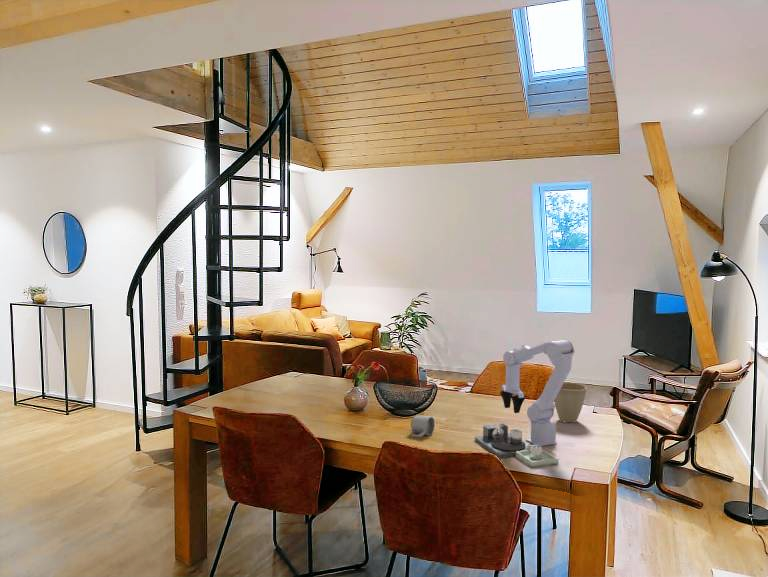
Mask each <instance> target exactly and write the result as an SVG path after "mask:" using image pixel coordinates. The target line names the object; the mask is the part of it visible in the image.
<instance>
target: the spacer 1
mask: <svg viewBox="0 0 768 577" xmlns="http://www.w3.org/2000/svg"><path fill="white" fill-rule="evenodd" d="M510 434H511V435H510V442H511V443H513V444H521V443H522V441H523V431H522V430H521V429H518V428H517V429H516V428H514V429H513V428H512V429H510Z"/></svg>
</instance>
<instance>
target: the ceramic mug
mask: <svg viewBox="0 0 768 577" xmlns="http://www.w3.org/2000/svg"><path fill="white" fill-rule="evenodd" d="M435 426H436V425H435V419H434V417H433V416H429V415H427V416H426V415H425V416H424V415H414V416H413V417H412V419H411V422H410V428H411V429H410V434H411V436H412V438H416V439H419V438H422V437H424V436H431V435H432V434H433V433H434V430H435ZM414 433H415V434H414Z"/></svg>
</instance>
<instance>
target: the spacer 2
mask: <svg viewBox="0 0 768 577" xmlns="http://www.w3.org/2000/svg"><path fill="white" fill-rule="evenodd" d="M542 449H543V446H539V445H534V444H530V459H531V460H533V461H540V460H542Z"/></svg>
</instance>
